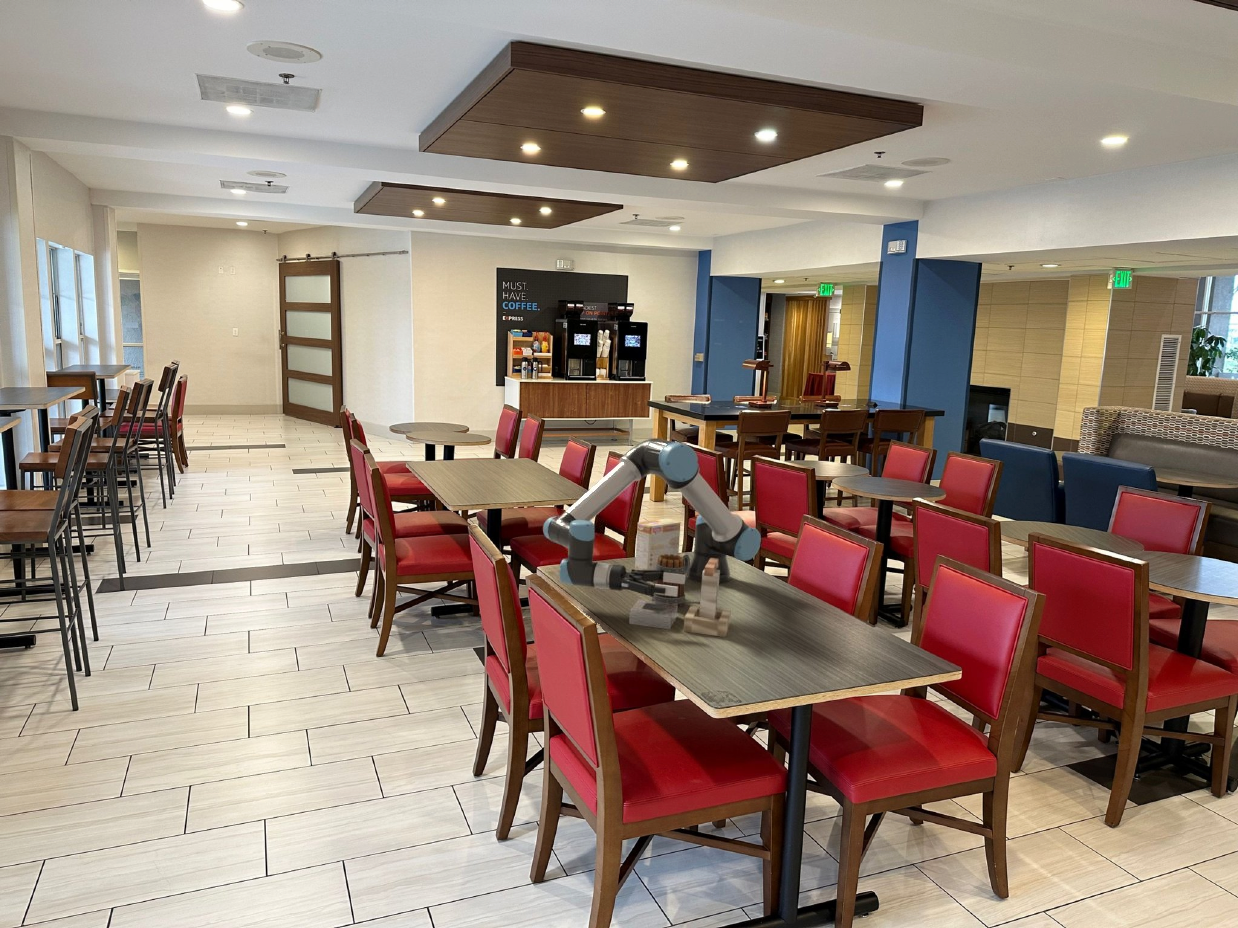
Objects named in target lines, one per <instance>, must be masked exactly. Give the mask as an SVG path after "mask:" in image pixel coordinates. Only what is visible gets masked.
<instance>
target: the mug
mask: <svg viewBox="0 0 1238 928" xmlns="http://www.w3.org/2000/svg"><path fill="white" fill-rule="evenodd" d="M690 563H691V558H690V556H689V554H687V553H680V554H678V555H674V554H670V555H668V554H664V555H660V556H659V557H658V561H657V565H656V570H661V569H664V572H665V573H674V574H682V575H685V582H686V581H687V579H688V573H689V568H690ZM655 584H660V585H668V586H676V587H678V593H677V597H675V596H668V595H660V594H654V596H653V597H651V601H658V602H666V603H673V604H678V607H677V608H680V607H682V606H683V605H685V601H686V594H685V584H678V583H670V582H663V580H661V581H654V584H653V585H654V587H655Z"/></svg>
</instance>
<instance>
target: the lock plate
mask: <svg viewBox="0 0 1238 928" xmlns="http://www.w3.org/2000/svg"><path fill="white" fill-rule="evenodd" d="M678 608H679V607H678V604H673V603H666V602H658V601H652V600H650V599H642V598H641V599H640V598H638V599H637V600H636V602H635V604H634V605H633V606H632V607H631V608H630V610H629V619H628V620H629V621H628V623H629V625H635V626H644V627H651V628H659V629H666V630H670V629H671V627H672V626H673V624H674V622H675V621H676V619H677V617H678Z"/></svg>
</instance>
